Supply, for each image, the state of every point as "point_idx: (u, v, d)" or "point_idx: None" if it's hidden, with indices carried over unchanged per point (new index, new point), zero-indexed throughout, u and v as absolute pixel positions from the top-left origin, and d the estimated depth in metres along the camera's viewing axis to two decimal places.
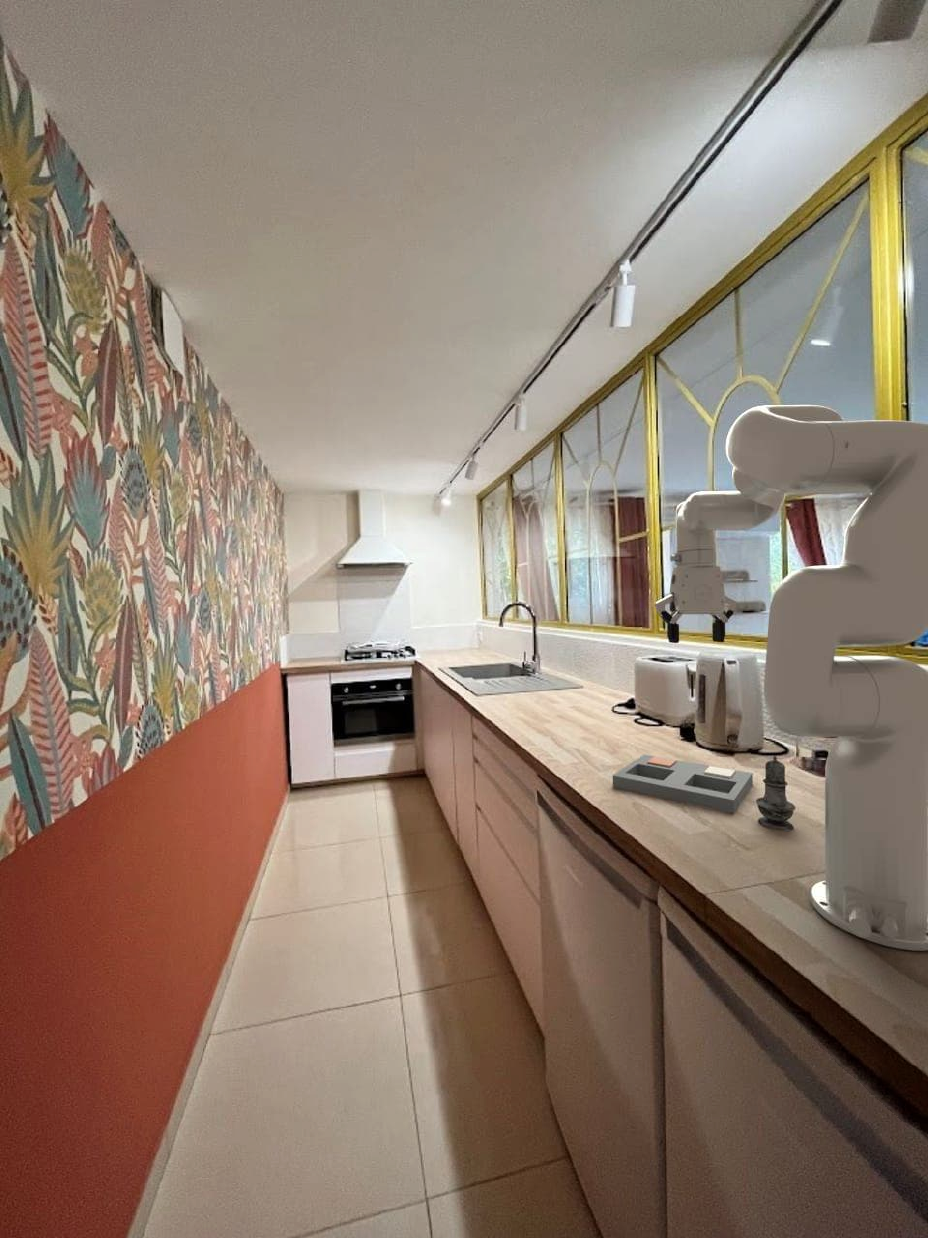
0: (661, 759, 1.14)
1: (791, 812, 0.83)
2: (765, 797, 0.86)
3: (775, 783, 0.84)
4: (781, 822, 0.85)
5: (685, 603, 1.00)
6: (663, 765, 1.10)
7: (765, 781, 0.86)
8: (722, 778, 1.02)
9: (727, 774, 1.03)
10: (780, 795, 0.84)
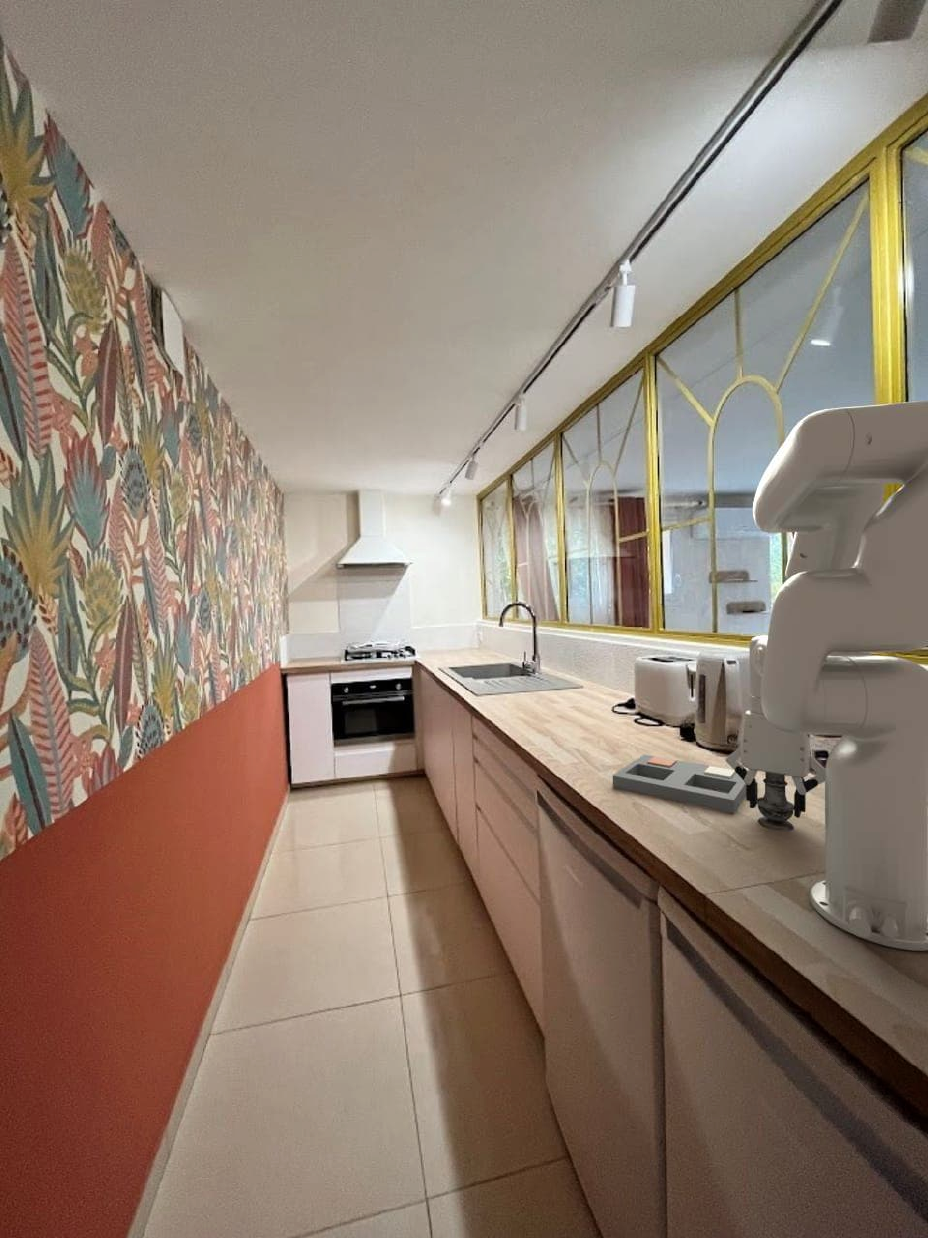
0: (661, 759, 1.14)
1: (791, 812, 0.83)
2: (765, 797, 0.86)
3: (775, 783, 0.84)
4: (781, 822, 0.85)
5: None
6: (663, 765, 1.10)
7: (765, 781, 0.86)
8: (722, 778, 1.02)
9: (727, 774, 1.03)
10: (780, 795, 0.84)
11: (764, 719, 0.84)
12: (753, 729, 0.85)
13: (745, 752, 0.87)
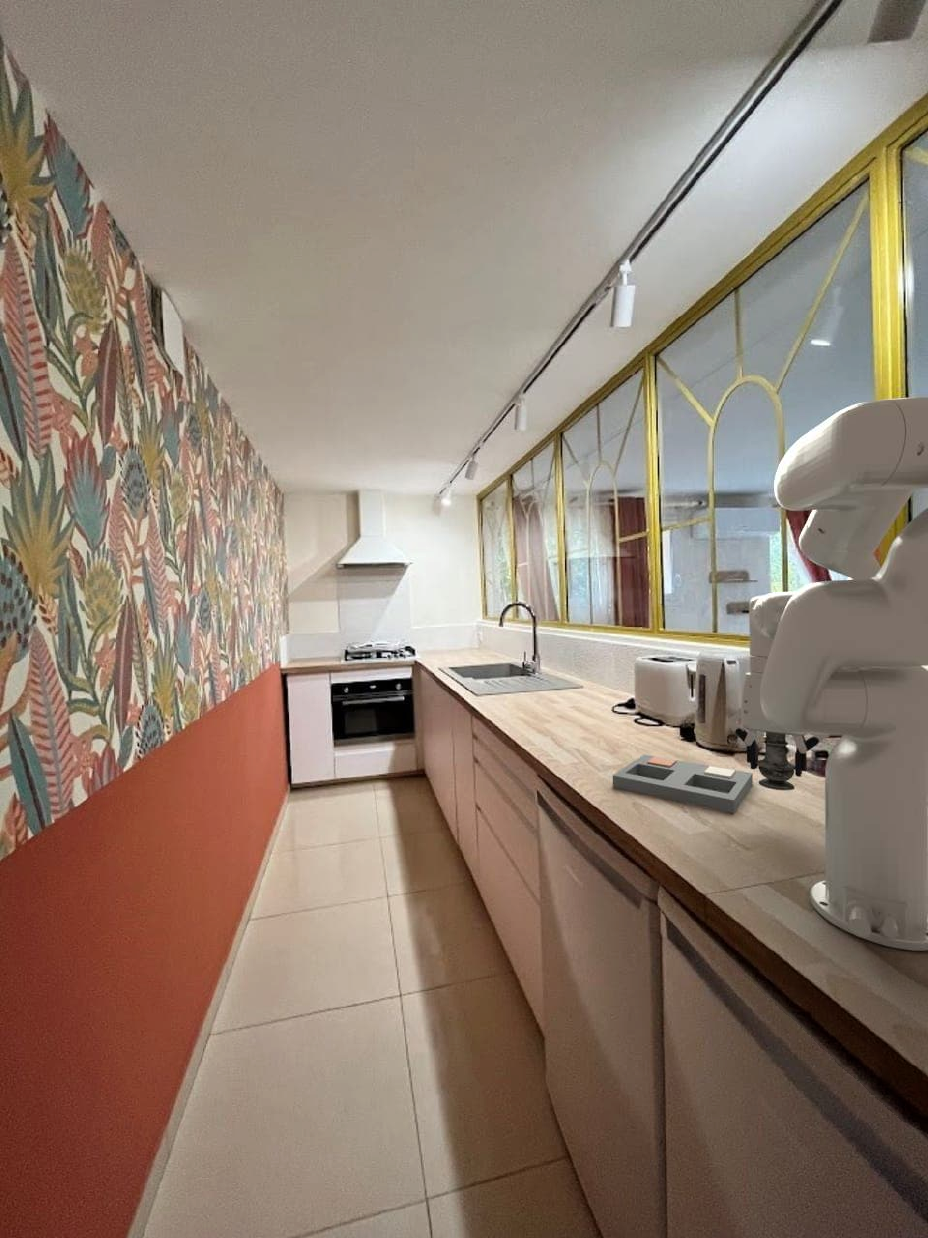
0: (661, 759, 1.14)
1: (792, 771, 0.83)
2: (766, 758, 0.85)
3: (776, 742, 0.84)
4: (782, 782, 0.84)
5: None
6: (663, 765, 1.10)
7: (766, 741, 0.85)
8: (722, 778, 1.02)
9: (727, 774, 1.03)
10: (781, 755, 0.84)
11: None
12: (753, 689, 0.85)
13: (745, 713, 0.86)
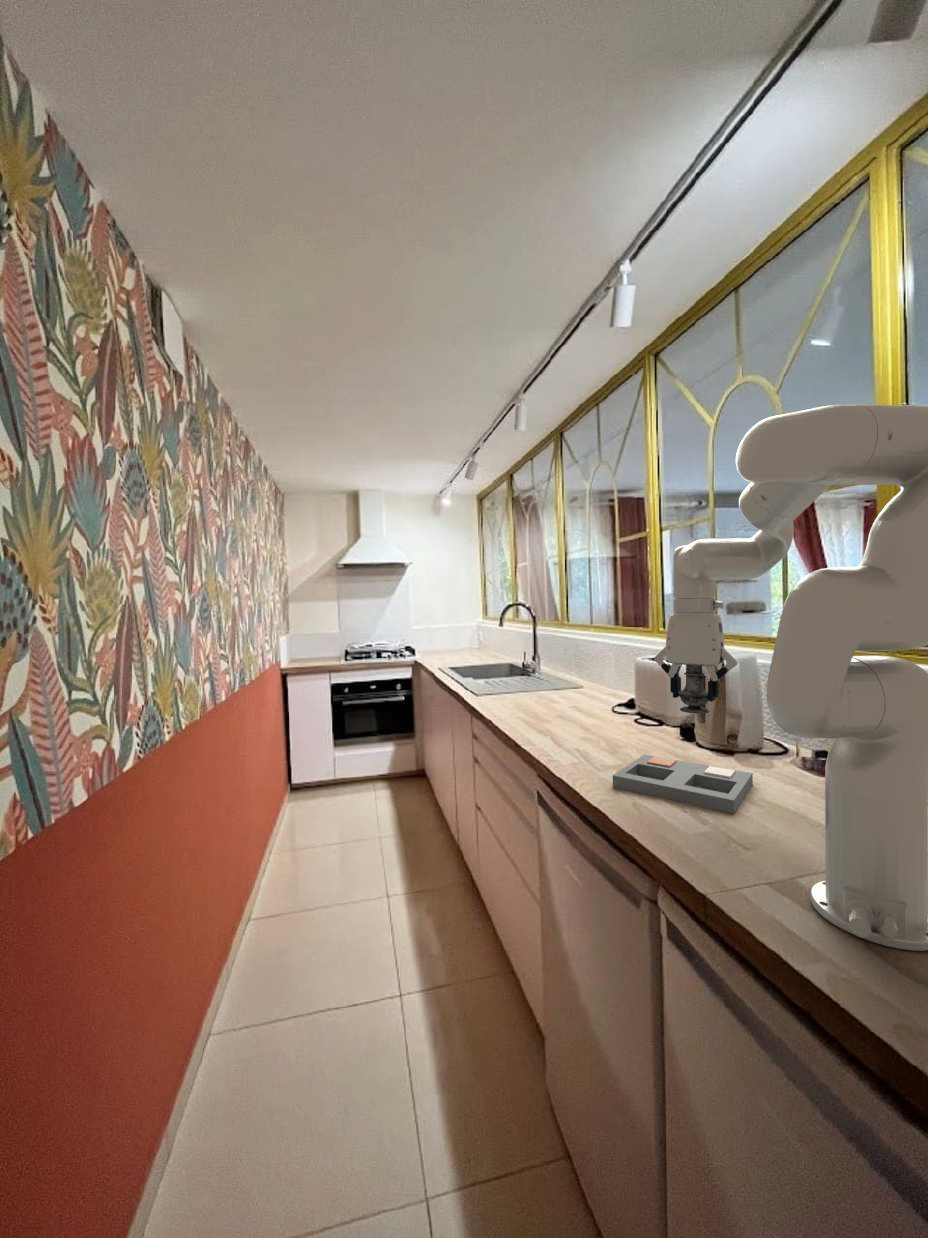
0: (661, 759, 1.14)
1: (706, 697, 0.96)
2: (685, 687, 0.98)
3: (693, 673, 0.97)
4: (698, 708, 0.97)
5: None
6: (663, 765, 1.10)
7: (685, 673, 0.98)
8: (722, 778, 1.02)
9: (727, 774, 1.03)
10: (698, 684, 0.96)
11: (683, 617, 0.96)
12: (675, 627, 0.98)
13: (668, 649, 0.99)
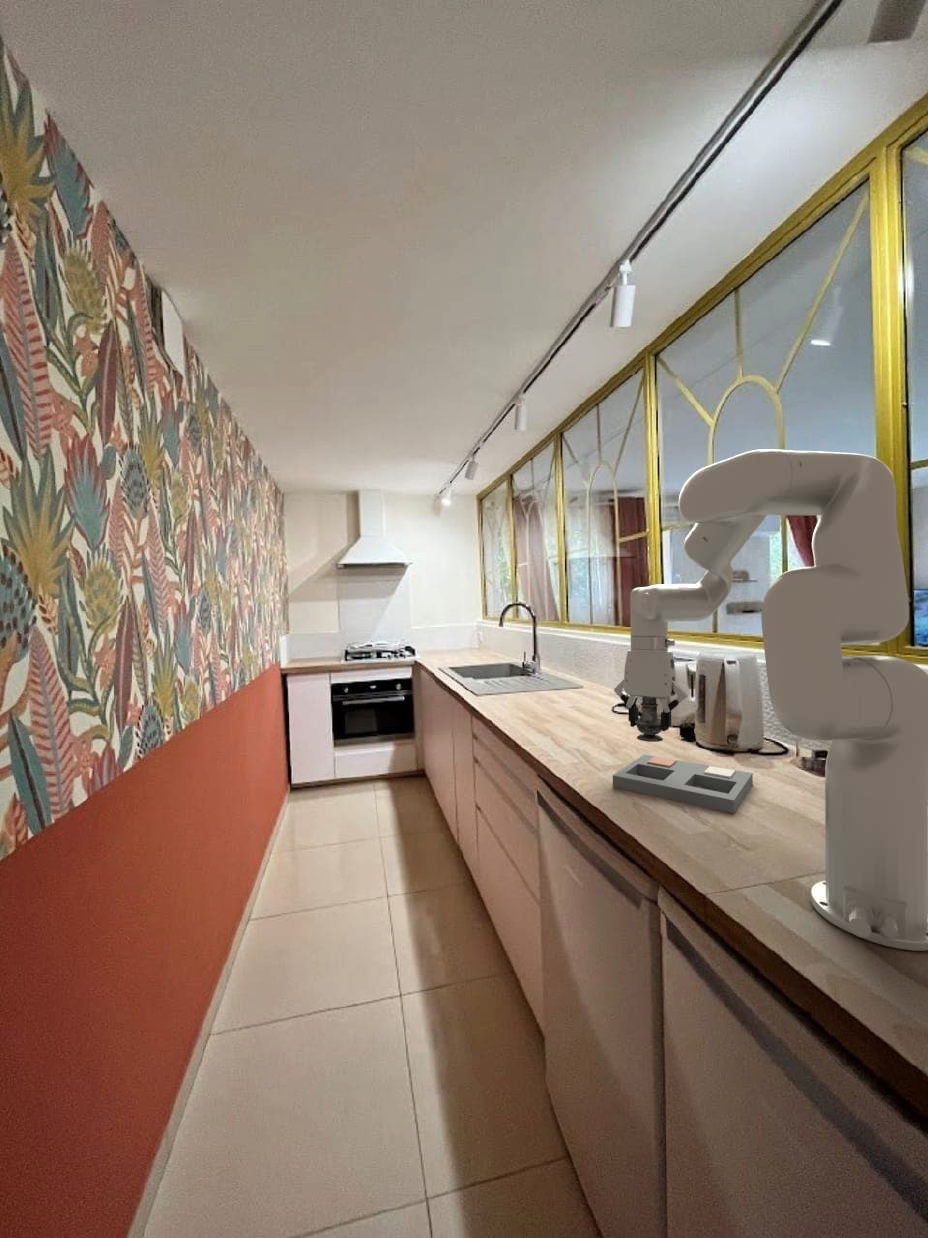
0: (661, 759, 1.14)
1: (659, 727, 1.04)
2: (641, 717, 1.07)
3: (648, 704, 1.05)
4: (653, 736, 1.06)
5: None
6: (663, 765, 1.10)
7: (641, 704, 1.07)
8: (722, 778, 1.02)
9: (727, 774, 1.03)
10: (652, 714, 1.05)
11: (639, 653, 1.05)
12: (632, 662, 1.06)
13: (626, 681, 1.07)
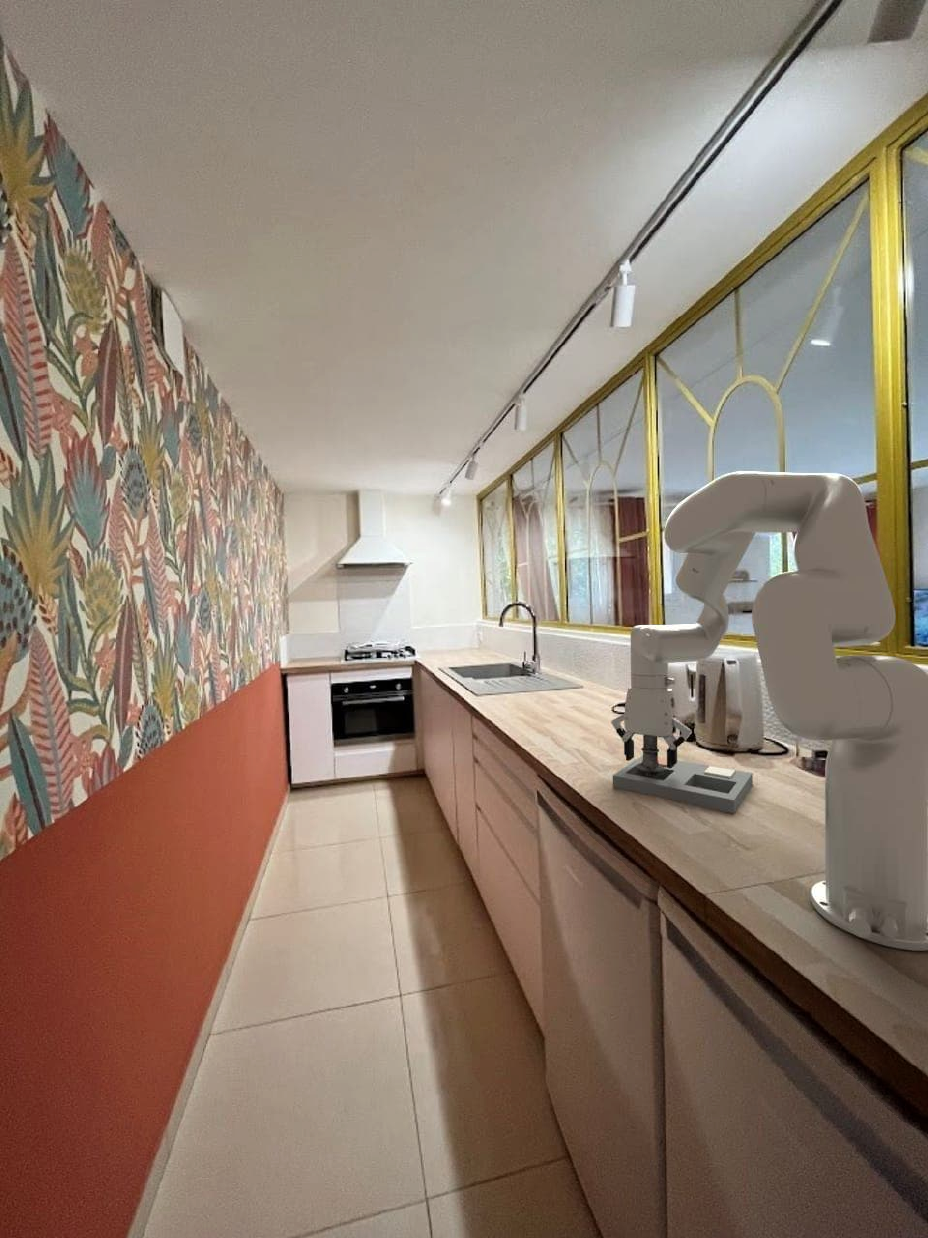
0: (661, 759, 1.14)
1: (660, 773, 1.04)
2: (642, 762, 1.07)
3: (649, 750, 1.05)
4: None
5: None
6: (663, 765, 1.10)
7: (642, 749, 1.06)
8: (722, 778, 1.02)
9: (727, 774, 1.03)
10: (653, 760, 1.05)
11: (639, 692, 1.05)
12: (632, 700, 1.06)
13: (627, 719, 1.07)
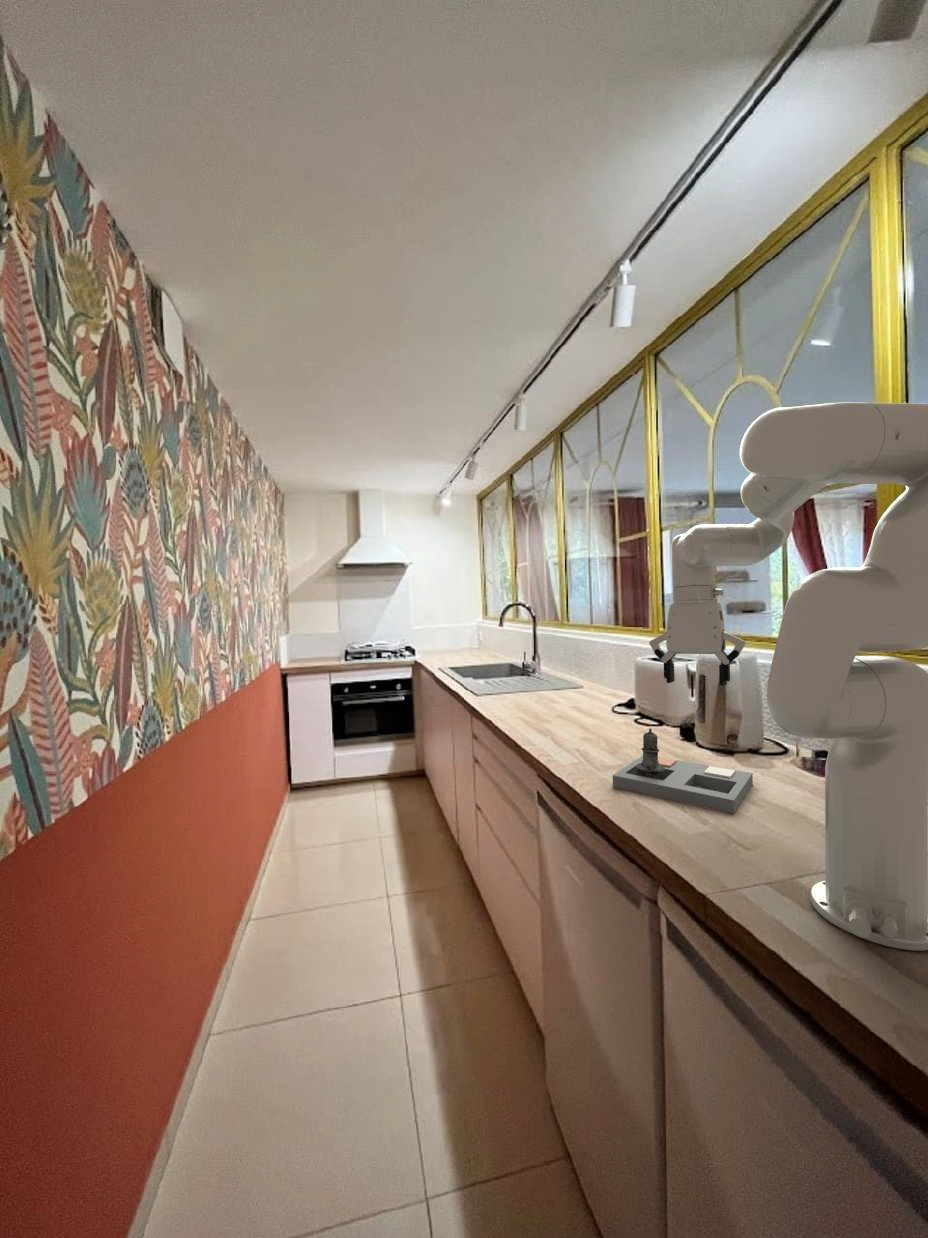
0: (661, 759, 1.14)
1: (660, 773, 1.04)
2: (642, 761, 1.07)
3: (649, 750, 1.05)
4: None
5: None
6: (663, 765, 1.10)
7: (642, 749, 1.07)
8: (722, 778, 1.02)
9: (727, 774, 1.03)
10: (653, 759, 1.05)
11: (684, 606, 0.96)
12: (675, 616, 0.97)
13: (669, 638, 0.98)
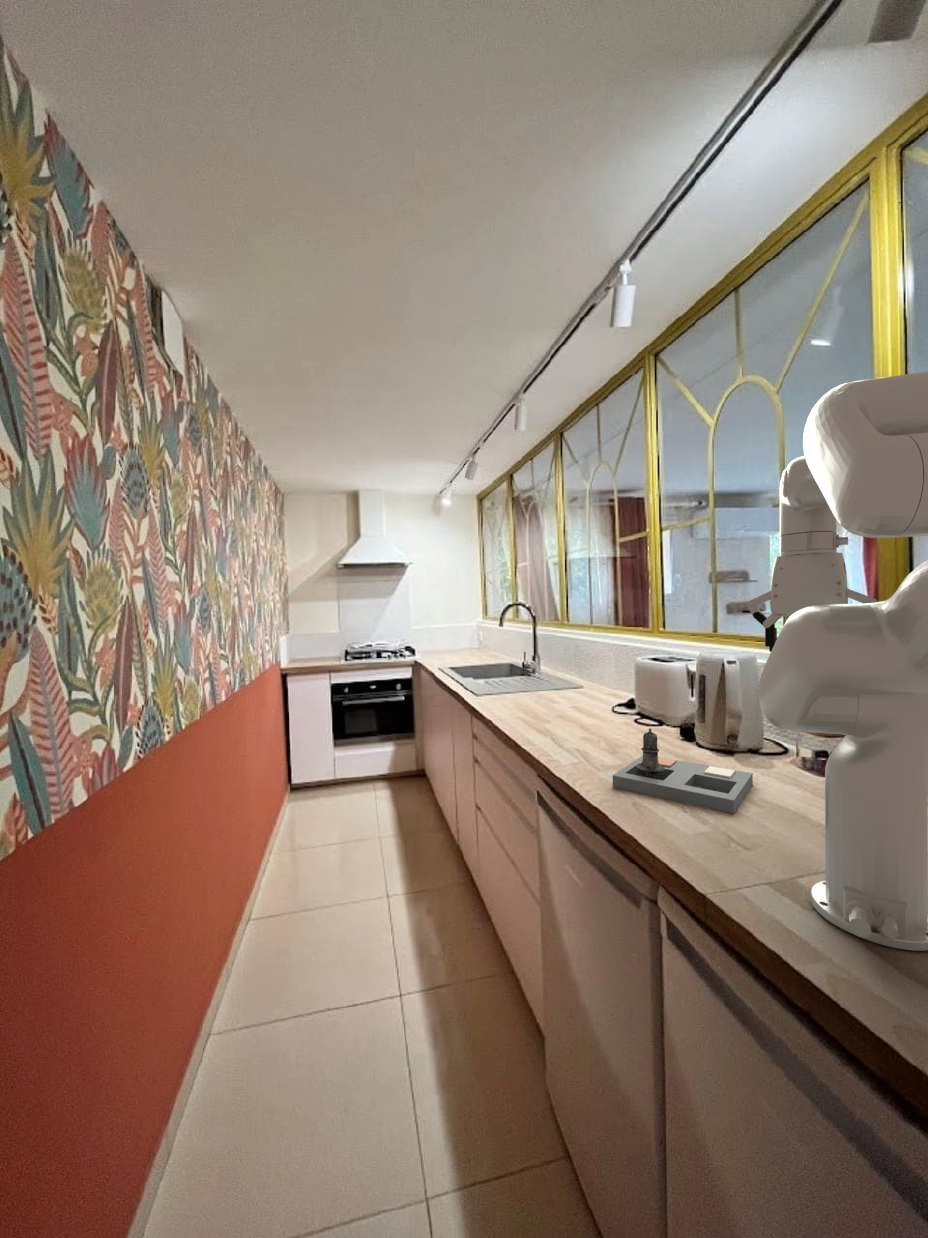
0: (661, 759, 1.14)
1: (660, 773, 1.04)
2: (642, 761, 1.07)
3: (649, 750, 1.05)
4: None
5: None
6: (663, 765, 1.10)
7: (642, 749, 1.07)
8: (722, 778, 1.02)
9: (727, 774, 1.03)
10: (653, 759, 1.05)
11: (796, 558, 0.78)
12: (784, 571, 0.80)
13: (775, 597, 0.81)
